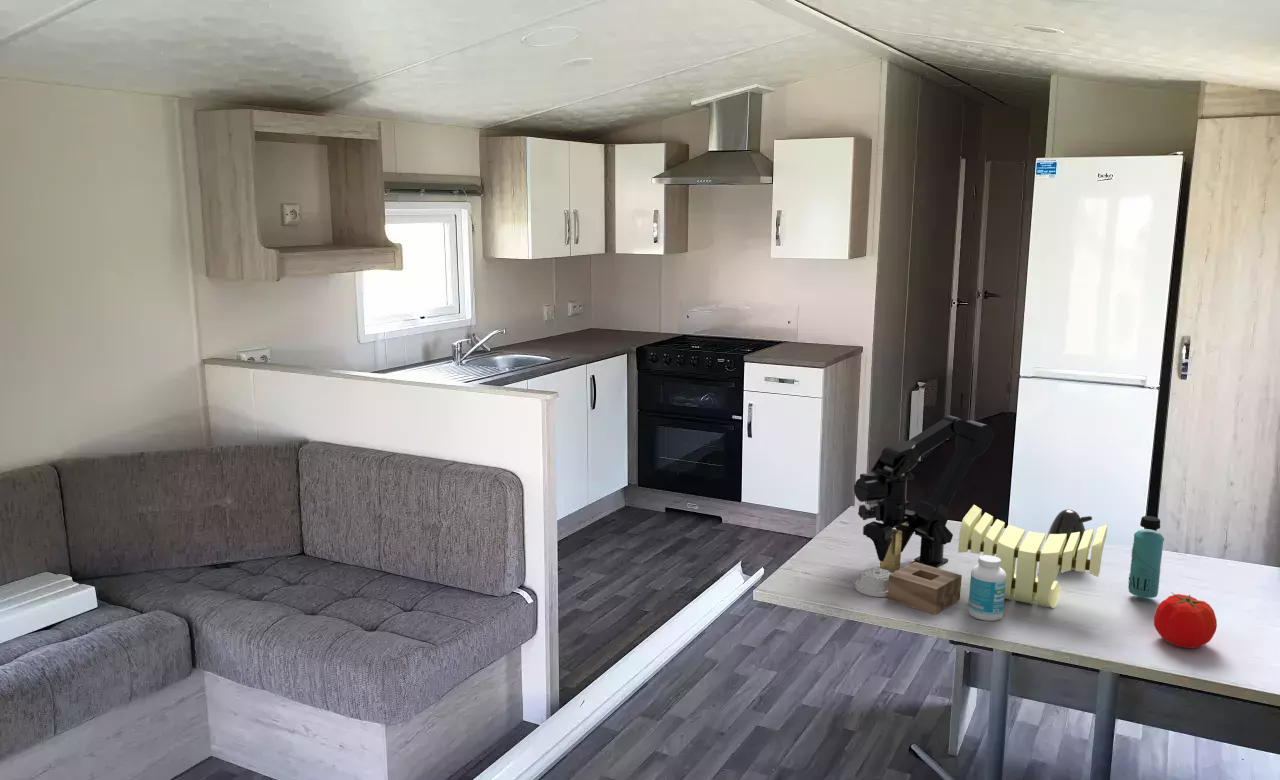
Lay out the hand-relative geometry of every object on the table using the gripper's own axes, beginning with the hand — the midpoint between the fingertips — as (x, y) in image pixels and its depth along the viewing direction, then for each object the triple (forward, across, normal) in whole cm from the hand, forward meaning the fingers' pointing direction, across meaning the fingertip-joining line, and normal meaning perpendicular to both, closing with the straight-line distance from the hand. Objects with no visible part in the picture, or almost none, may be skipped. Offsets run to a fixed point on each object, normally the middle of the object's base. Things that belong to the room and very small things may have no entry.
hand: (890, 556), depth 245 cm
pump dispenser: (+3, -33, +31) cm, 45 cm away
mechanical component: (+4, +14, +5) cm, 16 cm away
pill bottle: (+3, +10, +30) cm, 32 cm away
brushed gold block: (+3, 0, 0) cm, 3 cm away
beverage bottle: (+3, -25, +52) cm, 58 cm away
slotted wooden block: (+3, +12, +16) cm, 20 cm away
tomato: (+4, -6, +66) cm, 66 cm away
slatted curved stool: (+3, -8, +32) cm, 33 cm away
